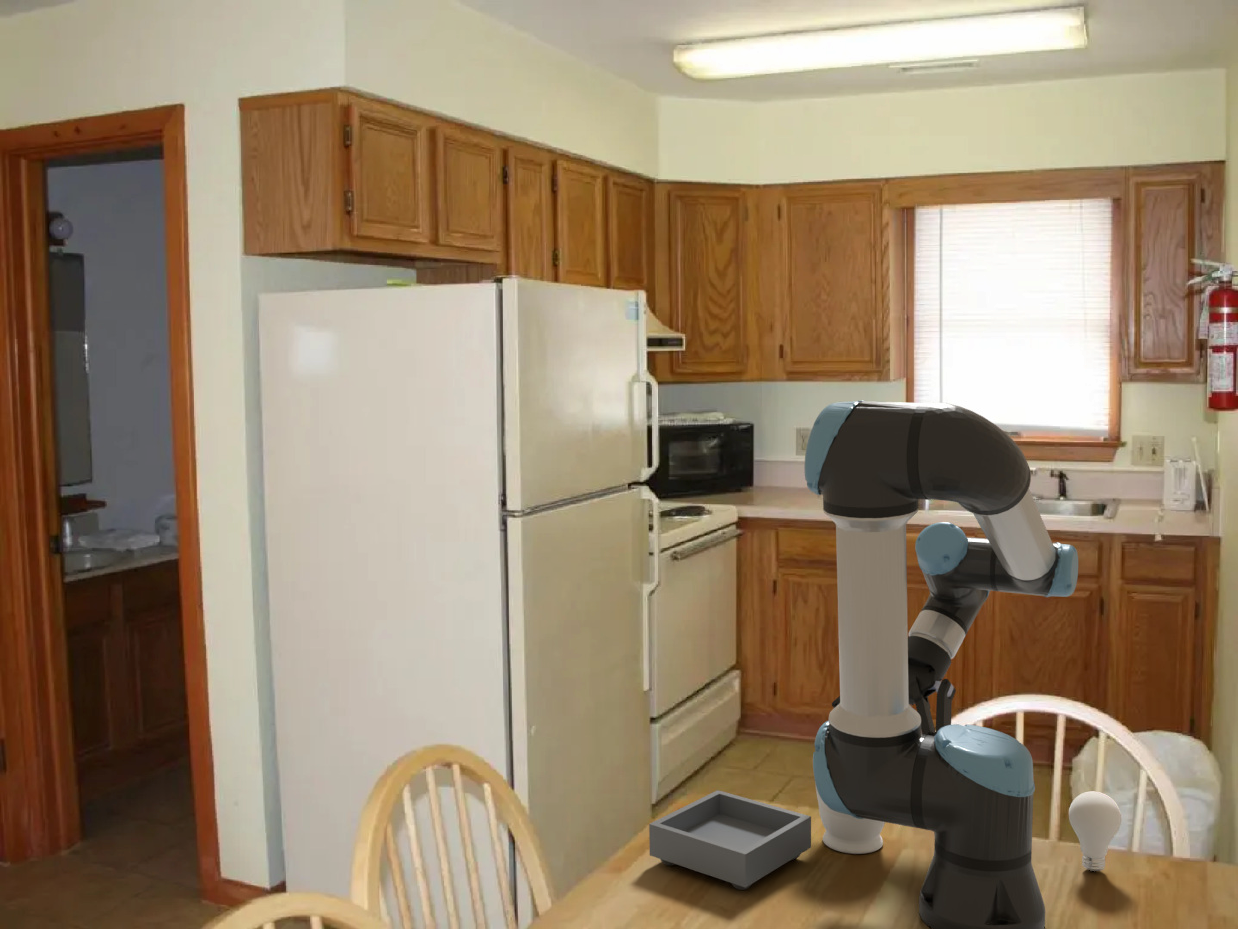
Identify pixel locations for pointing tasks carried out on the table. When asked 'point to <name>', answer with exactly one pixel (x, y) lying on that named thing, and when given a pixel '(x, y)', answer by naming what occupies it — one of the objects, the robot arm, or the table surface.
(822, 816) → the jar
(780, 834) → the footed square tray
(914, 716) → the robot arm
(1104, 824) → the light bulb
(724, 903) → the table surface
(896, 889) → the table surface
